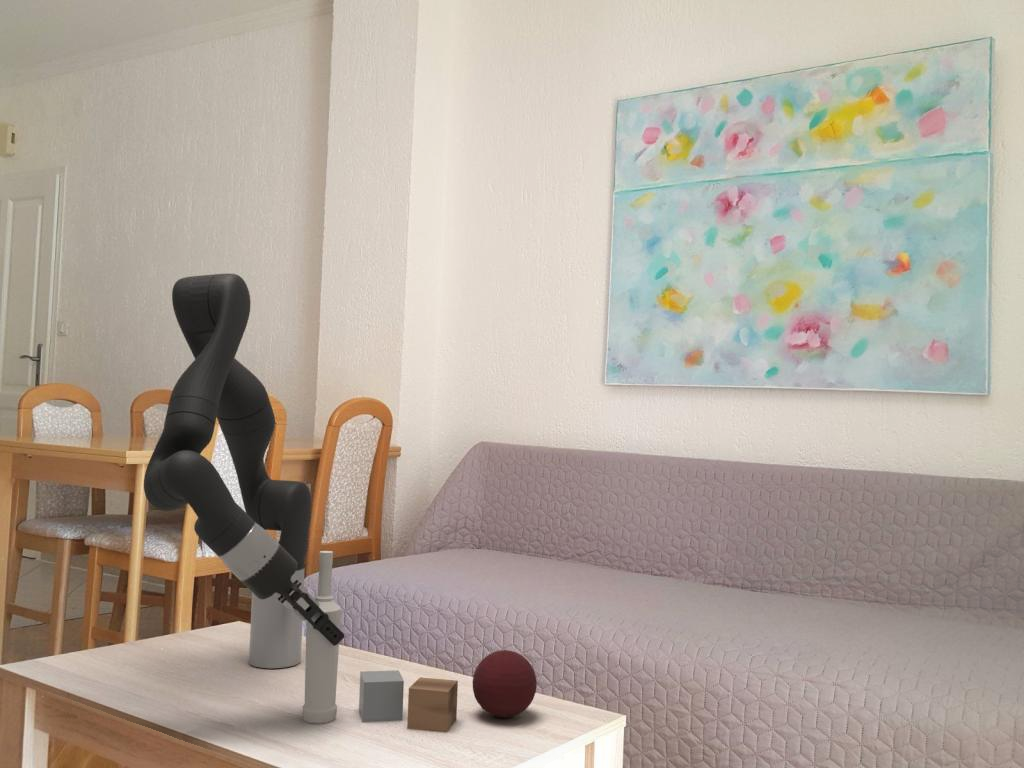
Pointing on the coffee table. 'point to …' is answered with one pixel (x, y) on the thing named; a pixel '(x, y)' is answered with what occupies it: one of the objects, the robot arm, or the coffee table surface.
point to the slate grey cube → (381, 696)
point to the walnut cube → (432, 704)
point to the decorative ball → (504, 684)
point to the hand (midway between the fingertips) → (334, 636)
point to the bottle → (322, 653)
